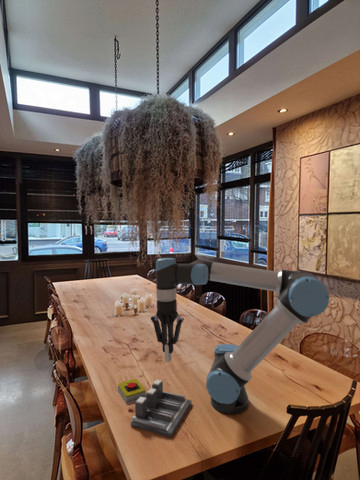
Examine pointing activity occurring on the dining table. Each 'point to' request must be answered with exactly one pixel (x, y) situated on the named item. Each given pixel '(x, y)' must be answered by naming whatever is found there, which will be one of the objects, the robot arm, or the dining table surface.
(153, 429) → the panel
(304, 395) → the dining table surface
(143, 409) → the block
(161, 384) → the breaker far
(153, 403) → the block
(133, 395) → the emergency button
